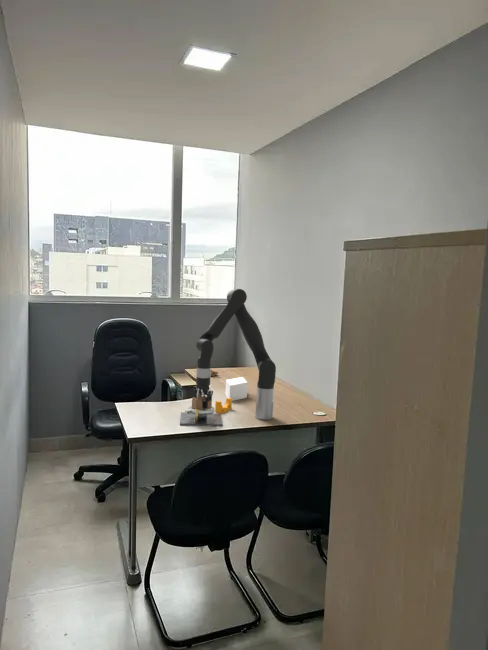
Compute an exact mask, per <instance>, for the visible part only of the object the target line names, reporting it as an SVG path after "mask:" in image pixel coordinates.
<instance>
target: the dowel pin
mask: <svg viewBox="0 0 488 650" xmlns="http://www.w3.org/2000/svg"><path fill="white" fill-rule="evenodd" d="M195 423H198V409H195Z"/></svg>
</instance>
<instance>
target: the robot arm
mask: <svg viewBox="0 0 488 650" xmlns="http://www.w3.org/2000/svg"><path fill="white" fill-rule="evenodd" d="M247 299H248V295H247V293H246V291H245V290H244V289H242V288H234V289H232V290H230V291H228V292H227V294H226V301H227V304H226V305H225V306H224V308H223V309H222V311H221V312H220V313H219V314H218V315H217V316H216V317H214V320H213V321H212V322H211V324H210V325H209V327H208V329H207V330H206V331H205V332H204V333H202V335H201V336H200V337H199V338H198V339H197V341H196V345H195V346H196V349H197V350H198V351H200V356H199V358H198V357H197V363H196V364H197V366H196V376H195V380H196V381H195V386H192V392H193V397H200V396H202V397H203V399H204V406H203V408H204V409H206V408H207V407H208V401H211V398H212V399H213V395H214V394H213V393H214V390H211V389H210V385H211V377H212V376H211V371H212V369H211V365H212V357H213V354H214V349H215V347H214V343H213V340H215V339H218V338H219V337H220V336H221V334H222V332H223V331H224V329H225V328H226V327H227V325H228V323H229V322H230V320H232V317H234V315H235V317H236V321H237V323H238V325H239V328H240V330H241V333H242V336H243V337H244V339H245V342H246V343H247V346H248V347H249V349H250V351H251V352H252V354H253V357H254V360H255V363H256V367H257V370H258V380H257V383H256V384H257V385H256V398H255V400H256V401H255V416H254V417H255V418H256V419H258V420H266V421H267V420H273V416H274V415H273V413H274V401H273V400H274V389H275V388H274V387H275V382H276V375H277V373H276V372H277V368H276V363H275V362H274V361H273V360H272V359H271V357H270V356H269V354H268V352H267V350H266V348H265V344H264V339H263V336H262V333H261V331H260V328H259V326H258V324H257V323H256V321H255V319H254V318H253V316H251V314H250V312H249V311H248V310H247V308H246V304H245V303H246V301H247Z"/></svg>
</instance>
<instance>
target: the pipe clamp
mask: <svg viewBox="0 0 488 650" xmlns="http://www.w3.org/2000/svg"><path fill="white" fill-rule="evenodd" d="M232 405H233V401H232V398H227V397H226V401H225V402H224V404H222V401H220V400H216V401H215V407H214V408H215V412H214V413H220V414H224V413H228V412H229V411H230V410H232V408H233V407H232Z"/></svg>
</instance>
